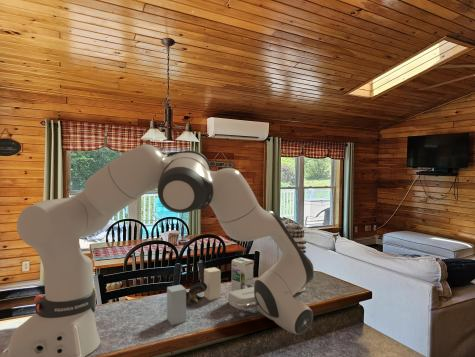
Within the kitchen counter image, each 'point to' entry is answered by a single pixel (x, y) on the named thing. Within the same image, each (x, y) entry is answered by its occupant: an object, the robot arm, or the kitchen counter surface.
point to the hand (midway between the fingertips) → (246, 286)
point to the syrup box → (241, 273)
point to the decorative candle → (298, 238)
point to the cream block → (212, 283)
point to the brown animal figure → (195, 292)
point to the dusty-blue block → (176, 304)
